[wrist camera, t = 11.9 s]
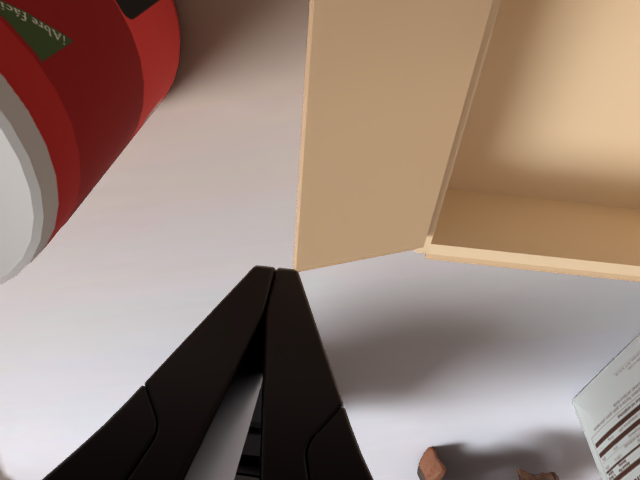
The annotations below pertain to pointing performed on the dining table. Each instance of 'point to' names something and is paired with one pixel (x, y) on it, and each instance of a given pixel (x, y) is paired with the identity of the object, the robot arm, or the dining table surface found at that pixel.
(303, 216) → the flap
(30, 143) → the canned food
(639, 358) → the supplement box
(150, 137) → the dining table surface
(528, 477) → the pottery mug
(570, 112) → the carton
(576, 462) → the dining table surface
